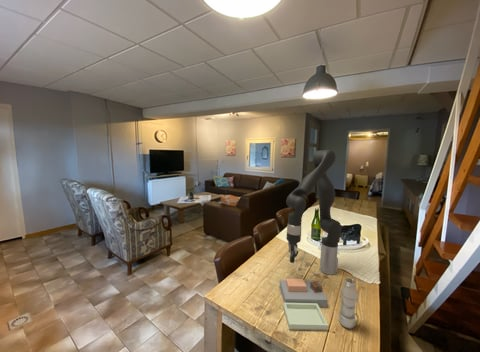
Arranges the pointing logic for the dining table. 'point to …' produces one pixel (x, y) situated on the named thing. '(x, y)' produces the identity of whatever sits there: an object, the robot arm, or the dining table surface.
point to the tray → (304, 316)
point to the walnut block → (316, 286)
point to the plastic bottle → (348, 304)
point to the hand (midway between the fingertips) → (291, 262)
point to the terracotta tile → (296, 285)
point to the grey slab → (303, 295)
